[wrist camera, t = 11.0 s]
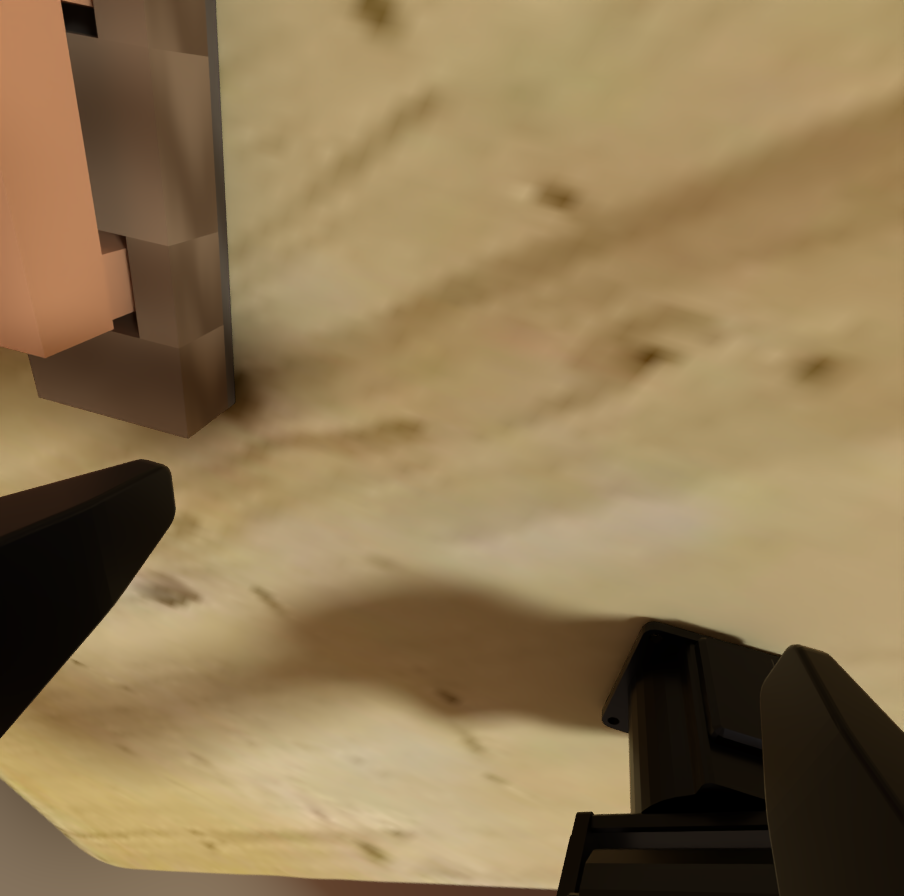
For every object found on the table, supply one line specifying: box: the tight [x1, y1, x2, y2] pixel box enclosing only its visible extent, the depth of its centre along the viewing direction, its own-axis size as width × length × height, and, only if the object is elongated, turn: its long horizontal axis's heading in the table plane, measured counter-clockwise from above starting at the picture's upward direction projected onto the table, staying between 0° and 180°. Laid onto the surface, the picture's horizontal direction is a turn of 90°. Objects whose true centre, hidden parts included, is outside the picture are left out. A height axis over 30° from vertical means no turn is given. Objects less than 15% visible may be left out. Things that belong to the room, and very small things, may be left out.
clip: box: [0, 0, 136, 358], centre depth 15 cm, size 10×3×6 cm, turn 170°
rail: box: [28, 0, 235, 438], centre depth 17 cm, size 18×6×3 cm, turn 170°
